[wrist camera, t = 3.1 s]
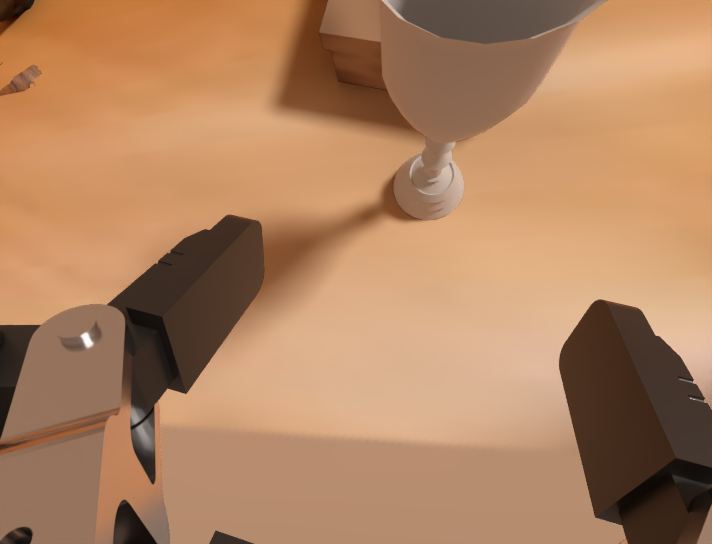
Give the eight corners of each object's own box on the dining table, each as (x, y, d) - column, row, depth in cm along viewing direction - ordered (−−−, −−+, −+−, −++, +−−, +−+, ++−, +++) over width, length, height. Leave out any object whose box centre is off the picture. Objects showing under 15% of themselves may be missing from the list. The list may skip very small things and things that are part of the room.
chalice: (407, 250, 26) (440, 97, 9) (361, 172, 27) (308, -107, 10) (498, 201, 26) (723, -60, 8) (448, 124, 27) (556, -247, 10)
